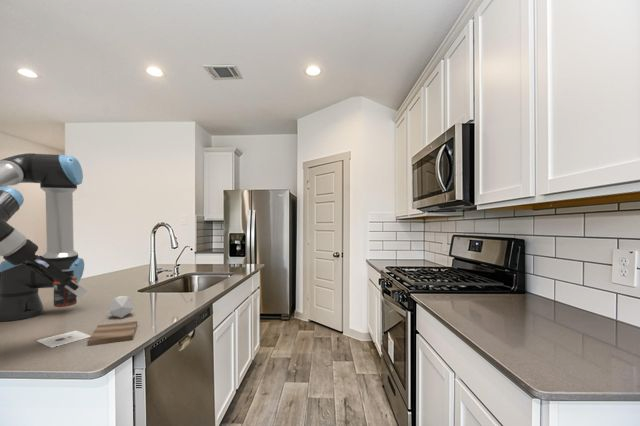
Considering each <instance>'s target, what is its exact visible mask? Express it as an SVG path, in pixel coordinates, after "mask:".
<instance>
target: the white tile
mask: <svg viewBox="0 0 640 426" xmlns="http://www.w3.org/2000/svg"><path fill="white" fill-rule="evenodd" d="M90 336H91V334H90V335H89V334H87V333H84V332H82V331H79V330H73V331H68V332H65V333H61V334H56V335H53V336H48V337H44V338H40V339H37V340H35V341H36V342H38V343H40V344H42V345H44V346H47V347H48V348H51V349H52V348H56V346H57V347H60V346H63V345H67V344H70V343H74V342H78V341H81V340H82V341H83V340H84V339H89V338H90Z"/></svg>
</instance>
